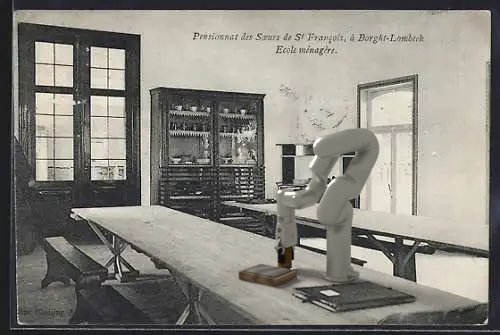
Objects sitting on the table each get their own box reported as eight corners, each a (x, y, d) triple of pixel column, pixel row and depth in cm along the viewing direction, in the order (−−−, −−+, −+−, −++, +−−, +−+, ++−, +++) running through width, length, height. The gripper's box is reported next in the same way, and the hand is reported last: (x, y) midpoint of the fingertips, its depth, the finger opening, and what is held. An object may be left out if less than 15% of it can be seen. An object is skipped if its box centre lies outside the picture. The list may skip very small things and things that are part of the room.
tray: (296, 278, 220) (296, 269, 220) (276, 287, 209) (276, 278, 209) (260, 270, 231) (259, 262, 231) (238, 278, 220) (238, 270, 219)
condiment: (275, 266, 237) (275, 238, 236) (295, 265, 238) (295, 238, 237) (278, 271, 230) (277, 242, 229) (298, 270, 231) (298, 242, 230)
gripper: (281, 223, 223) (281, 267, 224) (304, 216, 236) (304, 258, 238) (266, 221, 227) (266, 264, 229) (289, 215, 241) (289, 255, 243)
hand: (286, 261), depth 233 cm, fingers closed on condiment, 6 cm apart
